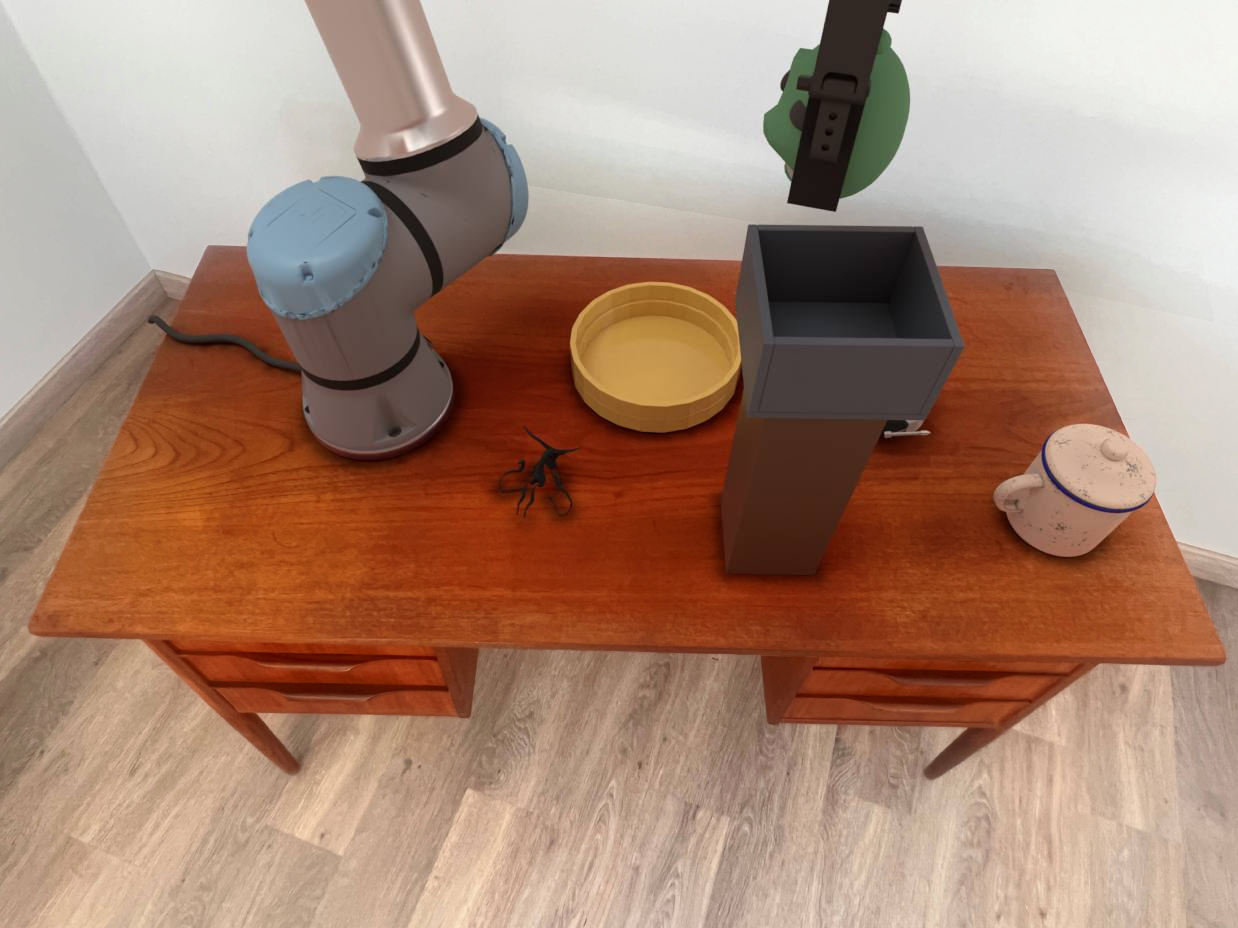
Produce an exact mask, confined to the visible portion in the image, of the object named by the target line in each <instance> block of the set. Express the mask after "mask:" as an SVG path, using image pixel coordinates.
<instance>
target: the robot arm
mask: <svg viewBox="0 0 1238 928" xmlns="http://www.w3.org/2000/svg"><path fill="white" fill-rule="evenodd" d="M902 2H903V0H828V2H827V3H828V4H827V9H826V13H825V18H824V23H823V27H822V32H821V37H820V41H819V42H820V43H819V44H820V46H819V51H818V55H817V60H816V65H815V69H814V72H813V75H812V76H808V75H800V76H799V77H798V81H797V86H796V90H802V91H809V92H808V94H809V98H808V103H807V108H806V113H805V118H804V123H803V127H802V132H801V137H800V142H799V147H798V152H797V157H796V161H795V166H794V171H793V176H792V181H790V187H789V190H788V196H787V201H786V204H788V205H795V206H799V207H806V208H812V209H817V210H822V211H827V212H833V213H837V209H838V206H839V202H840V200H841V199H840V195H841V191H842V188H843V184H844V180H845V176H846V173H847V169H848V165H849V162H850V158H851V154H852V151H853V147H854V143H855V139H856V136H857V132H858V128H859V125H860V121H861V117H862V113H863V110H864V106H865V102H866V99H867V97H868V96H869V93H870V89H871V81H872V80H870V76H871V72H872V68H873V65H874V61H875V57H876V53H877V50H878V46H879V42H880V38H881V35H882V31H883V28H884V26H885V23H886V20H887V16H888V13H891V14H898V15H899V13H900V10H901V6H902ZM304 3H305V5H306V7H307V9H308V11H309V13H310V16H311V18H312V20H313V22H314V25H315V27H316V29H317V31H318V34H319V36H320V38H321V41H322V42H323V45H324V47H325V49H326V52H327V53H328V56H329V58H330V60H331V63H332V65H333V67H334V69H335V71H336V73H337V76H338V78H339V80H340V82H341V85H342V87H343V89H344V92H345V93H346V95H347V98H348V100H349V102H350V104H351V107H352V109H353V111H354V114H355V116H356V119H357V120H358V122H359V131H358V134H357V136H356V139H355V142H354V144H353V152H354V155H355V157H356V159H357V162H358V163H359V166H360V168H361V170H362V172H363V174H364V179H362V180H360V181H359V180H358V179H355V178H352V177H348V176H341V175H326V176H321V177H320V178H319V180H318V181H315V182H313V181H312V180H311V179H305V180H303V181H300V182H297V183H295V184H293V185H290V186H289V187H287V188H285V189H283V190H282V191H280V192H279V193H277V194H275V196H273V197H272V198H271V199H270V200H269V201H267V202H266V203H265V204H264V205H263V207H261V208H260V210H259V211H258V212H257V214H255V216H254V218H253V221H252V223H251V225H250V226H249V229H248V232H247V243H246V249H245V250H246V256H247V261H248V264H249V267H250V269H251V271H252V273H253V276H254V279H255V282H256V286H257V290H258V293H259V296H260V297H261V299H262V300H263V302H264V303H265V305H266V306H267V308H269V310H270V312H271V314H272V315H273V317H274V319H275V321H276V323H277V326H278V328H279V329H280V331H281V333H282V335H283V338H284V339H285V341H286V343H287V345H288V346H289V349H290V351H291V352H292V354H293V356H294V359H295V360H296V362H294V361H289V360H284V359H279V358H276V357H274V356H271V355H269V354H267V353H265V352H264V351H262V350H261V349H260V348H259V347H258V346H256V345H255V344H254V343H252V342H251V341H250V340H248V339H246V338H244V337H241V336H238V335H233V334H225V333H219V334H218V333H215V334H202V335H192V334H191V335H190V334H186V333H185V334H184V333H182V332H178V331H177V330H175V329H173V327H171V326H170V325H169V324H168V323H167V322H166V321H164V319H163V318H161V317H160V316H158V315H156V314H152V315H150V316H149V317H148V319H147V323H148V324H151V325H154V324H155V325H157V327H159V329H160V330H162V331H163V332H164V333H165V334H167V335H168V336H169V337H171V338H172V339H174V340H176V341H179V342H182V343H189V344H205V343H206V344H207V343H231V344H236V345H238V346H241V347H243V348H245V349H247V350H248V351H249V352H250V353H252V354H253V355H254V356H255V357H256V358H258V359H259V360H260V361H263V362H264V363H266V364H268V365H271V366H274V367H277V368H281V369H285V370H290V371H296V372H298V373H301V391H302V410H303V415H304V419H305V422H306V423H307V425H308V427H309V430H310V431H311V433H312V435H313V436H314V438H315V439H316V440H317V442H319V443H320V444H321V446H323V447H324V448H325V449H327V450H328V451H330V452H332V453H334V454H336V455H337V456H341V457H343V458H347V459H351V460H358V461H378V460H379V461H380V460H387V459H390V458H394V457H398V456H401V455H404V454H407V453H410V452H412V451H413V450H416V449H417V448H419V447H421V446H422V445H424V444H426V443H427V442H428V441H430V440H431V439H432V438H433V437H434V436H435V435H437V433H438V432H439V431H440V430H441V429H442V428H443V427H444V426H445V424H446V423H447V421H448V420H449V417H450V416H451V414H452V412H453V410H454V409H453V408H454V405H455V398H456V395H455V393H456V392H455V386H454V381H453V379H452V375H451V372H450V369H449V367H448V366H447V364H446V363H445V361H444V359H443V358H442V357H441V355H439V353H438V352H437V351H436V350H434V348H436V345H435V344H434V343H433V342H432V341H431V340H430V339H429V338H427V337H426V336H425V335H424V334H422V333H421V332H420V330H419V326H418V323H417V319H416V316H415V315H416V314H415V311H416V310H417V309H419V308H420V307H421V306H422V305H424V304H425V303H426V302H428V301H429V300H430V299H432V298H433V297H434V296H436V295H437V294H440V292H442V291H443V290H444V289H445V288H447V287H448V286H450V285H451V284H452V283H454V282H455V281H456V280H458V279H459V278H460V277H462V276H463V275H465V274H466V273H468V272H469V271H470V270H472V269H473V268H474V267H476V266H477V265H478V264H480V263H481V262H482V261H483V260H484V259H486V258H489V257H491V256H493V255H495V254H496V253H497V252H498V251H500V250H501V249H502V247H503V246H504V244H506V242H508V241H509V240H510V239H511V238H513V236H515V235H516V234H517V233H518V231H519V230H520V229H521V227H522V225H523V223H524V222H525V220H526V217H527V213H528V209H529V202H530V201H529V197H530V196H529V195H530V193H529V185H528V179H527V174H526V171H525V168H524V165H523V163H522V160H521V157H520V155H519V153H518V152H517V150H516V148H515V146H514V145H513V144H511V143H510V144H508V143H507V135H506V134H505V132H503V130H501V128H499V127H498V126H497V125H496V124H494V123H493V122H491V121H489V120H488V119H485V118H482V117H480V114H479V112H478V110H477V106H475V104H473V103H471V102H469V101H468V100H466V99H465V98H462V97H460V96H458V95H457V94H456V93H455V92H453V89H452V86H451V83H450V81H449V78H448V75H447V73H446V69H445V66H444V63H443V61H442V58H441V55H440V53H439V50H438V47H437V44H436V42H435V39H434V36H433V32H432V31H431V27H430V25H429V22H428V19H427V16H426V13H425V10H424V7H423V5H422V2H421V0H304Z"/></svg>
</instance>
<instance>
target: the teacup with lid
mask: <svg viewBox="0 0 1238 928" xmlns="http://www.w3.org/2000/svg"><path fill="white" fill-rule="evenodd" d="M1156 487H1157V474H1156V470H1155V467H1154V464H1153V462H1152V461H1151V459H1150V458H1149V456H1148V454H1147V453H1146V452H1145V451H1144V450H1143V448H1142V447H1141V446H1139V444H1137V443H1136V442H1135V441H1133V440H1132V439H1131V438H1129V437H1127V436H1126V435H1124V434H1123V433H1121V432H1119V431H1117V430H1114V429H1112V428H1109V427H1107V426H1102V425H1099V424H1092V423H1075V424H1070V425H1065V426H1064V427H1063V426H1062V427H1061V428H1059V429H1057V430H1055V431H1054V432H1052V433H1050V434H1049V436H1048V437H1046V439H1045V441H1044V442H1043V444H1042V447H1041V450H1040V452H1039V453H1038V454H1037V455H1036V457H1035V458H1034V459H1033V460H1032V462H1031V463H1030V464H1029V466H1028V467H1027V468H1026V470H1025V471H1024V472H1023V474H1021V475H1020V474H1019V475H1017V476H1014V477H1013V476H1012V477H1010V478H1008V479H1006V480H1004V481H1002V482H1001V483H1000V484H999V485H998V486H997V487H996V488H995V490H994V492H993V497H992V498H993V501H994V504H995V506H996V508H997V509H999V510H1000V511H1002V512H1005V513H1006V517H1007V520H1008V522H1009V524H1010V526H1011V527H1012V528H1013V530H1014V531H1015V532H1016V534H1017V535H1018V536H1019V537H1020V538H1021V539H1022V540H1023V541H1024V542H1026V543H1027V544H1028V545H1030V546H1031V547H1033V548H1035V549H1037V550H1038V551H1041V552H1042V553H1045V554H1048V555H1052V556H1056V557H1061V558H1063V557H1065V558H1073V557H1078V556H1082V555H1085V554H1087V553H1089V552H1091V551H1093V550H1094V549H1095V548H1096V547H1097V546H1098V545H1099V544H1100V543H1102V541H1103V540H1105V538H1106V537H1107V536H1109V535H1110V534H1111V533H1112V532H1113V531H1114V530H1115V529H1116V528H1117V527H1119V526H1120V524H1122V523H1123V522H1124V521H1125V520H1126V519H1127V518H1128V517H1129V516H1130V515H1131V514H1133V512H1135V511H1137V510H1139V509H1141V508H1143V507H1145V506H1146V505H1147V504H1148V503H1149V502H1150V501H1151V499H1152V498H1153V495H1154V494H1155V490H1156Z"/></svg>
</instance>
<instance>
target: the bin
mask: <svg viewBox="0 0 1238 928" xmlns="http://www.w3.org/2000/svg"><path fill="white" fill-rule="evenodd" d="M741 258H742V259H741V264H740V271H739V277H738V282H737V288H736V294H735V300H734V304H735V314H736V315H735V316H736V321H737V325H738V334H739V343H740V353H741V362H742V364H741V371H742V379H743V391H742V395H741V400H740V406H739V410H738V415H737V419H736V424H735V429H734V434H733V437H732V438H733V439H732V444H731V449H730V453H729V457H728V462H727V467H726V472H725V477H724V482H723V487H722V491H721V495H720V511H721V512H720V513H721V524H722V526H721V527H722V538H723V552H724V553H723V554H724V565H725V574H726V575H774V576H775V575H777V576H779V575H781V576H782V575H783V576H784V575H785V576H815V574H816V573H817V570H818V568H819V566H820V564H821V562H822V560H823V558H824V556H825V554H826V551H827V549H828V547H829V544H830V543H831V540H832V538H833V536H834V534H835V532H836V530H837V528H838V526H839V525H840V521H841V519H842V518H843V515H844V513H845V511H846V509H847V507H848V504H849V502H850V500H851V498H852V496H853V494H854V492H855V490H856V488H857V485H858V484H859V481H860V480H861V478H862V475H863V473H864V471H865V469H866V466H867V464H868V462H869V461H870V458H871V457H872V454H873V452H874V450H875V448H876V445H877V443H878V441H879V439H880V437H881V436H882V435H881V433H882V431H883V429H884V426H885V424H886V422H887V420H924V421H926V420H927V418H928V416H929V414H930V412H931V410H932V409H933V407H934V405H935V403H936V402H937V399H938V397H939V396H940V393H941V392H942V390H943V388H944V387H945V385H946V382H947V381H948V379H949V377H950V375H951V374H952V371H953V370H954V369H955V366H956V364H957V362H958V360H959V358H960V357H961V355H962V353H963V351H964V349H965V347H966V346H965V343H964V340H963V337H962V334H961V331H960V328H959V326H958V322H957V320H956V317H955V313H954V311H953V307H952V305H951V303H950V300H949V296H948V294H947V292H946V288H945V285H944V283H943V279H942V276H941V275H940V272H939V269H938V265H937V263H936V260H935V257H934V254H933V251H932V249H931V246H930V243H929V240H928V237H927V234H926V232H925V228H924V226H919V225H918V226H917V225H915V226H912V225H911V226H908V225H907V226H906V225H905V226H904V225H836V224H835V225H831V224H830V225H829V224H828V225H825V224H824V225H823V224H753V223H752V224H751V223H750V224H748V225H747V229H746V236H745V240H744V247H743V253H742V257H741Z"/></svg>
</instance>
